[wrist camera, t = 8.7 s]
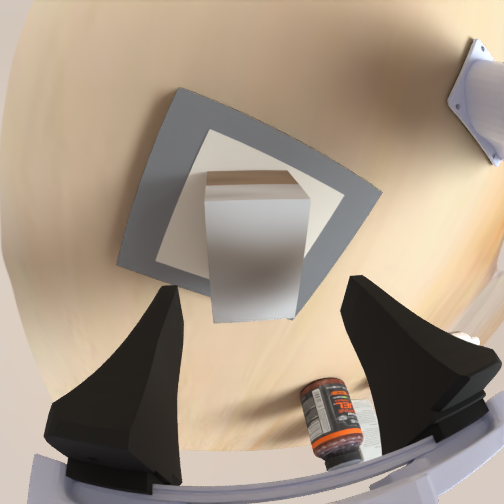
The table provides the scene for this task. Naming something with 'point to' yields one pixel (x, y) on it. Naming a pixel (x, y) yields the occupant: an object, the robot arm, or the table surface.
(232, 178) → the block
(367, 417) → the small box
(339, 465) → the supplement bottle
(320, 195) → the stand
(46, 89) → the table surface
